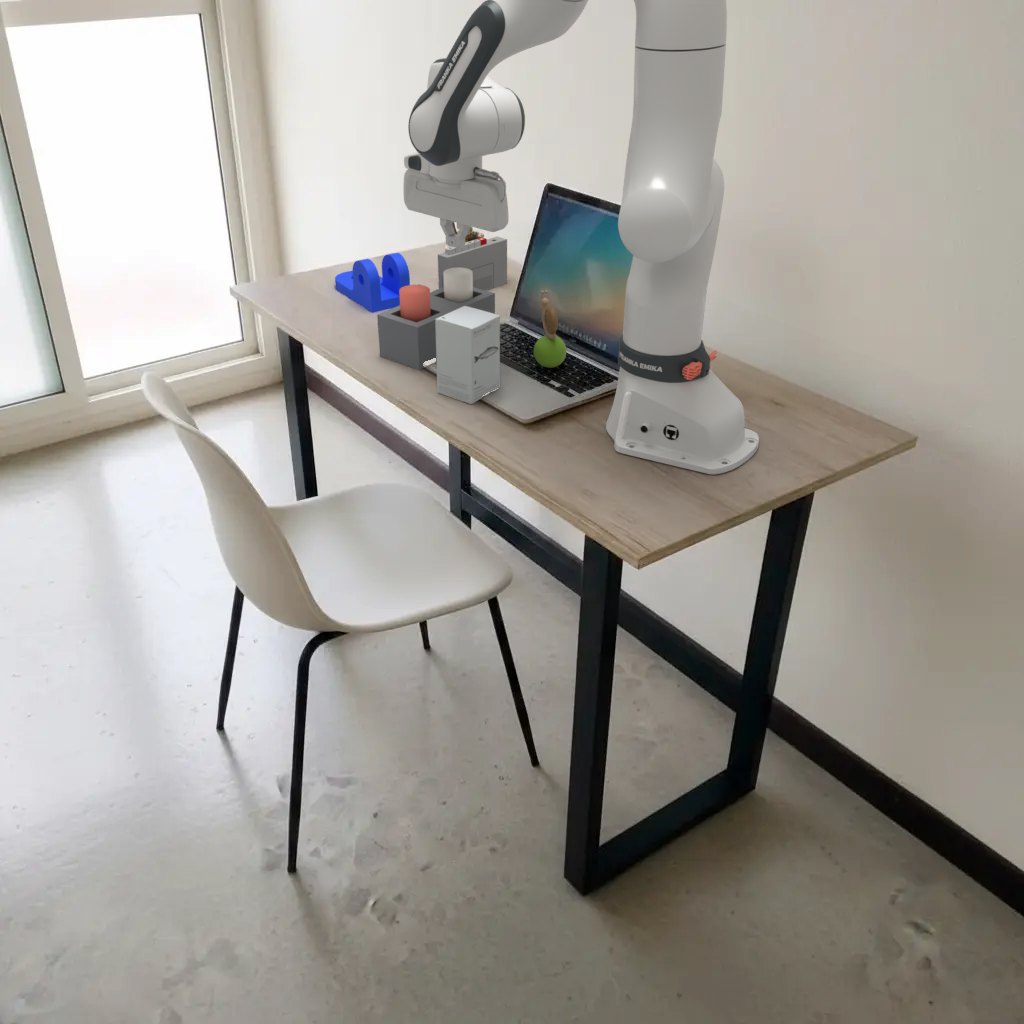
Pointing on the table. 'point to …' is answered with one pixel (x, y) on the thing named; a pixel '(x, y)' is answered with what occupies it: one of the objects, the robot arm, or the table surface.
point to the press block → (422, 328)
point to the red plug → (415, 302)
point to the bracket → (375, 282)
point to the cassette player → (478, 262)
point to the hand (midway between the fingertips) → (455, 246)
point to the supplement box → (467, 353)
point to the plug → (458, 284)
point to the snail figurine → (549, 339)
